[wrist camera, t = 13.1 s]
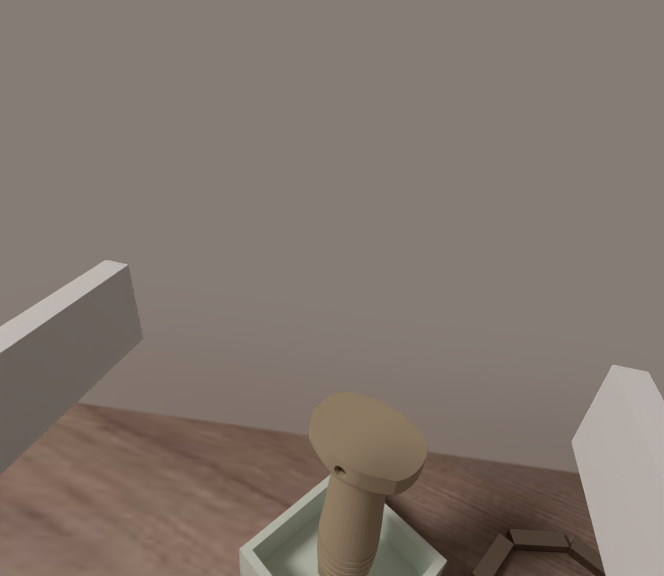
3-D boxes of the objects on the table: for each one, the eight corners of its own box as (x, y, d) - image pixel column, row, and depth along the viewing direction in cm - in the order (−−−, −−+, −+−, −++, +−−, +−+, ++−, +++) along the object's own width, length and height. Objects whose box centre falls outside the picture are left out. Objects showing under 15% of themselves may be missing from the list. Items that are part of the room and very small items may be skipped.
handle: (324, 523, 34) (344, 380, 26) (396, 579, 31) (441, 435, 23) (283, 575, 31) (292, 427, 23) (359, 643, 28) (398, 500, 20)
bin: (436, 585, 32) (447, 560, 30) (340, 714, 25) (346, 692, 23) (338, 490, 37) (342, 464, 35) (240, 575, 31) (239, 549, 29)
